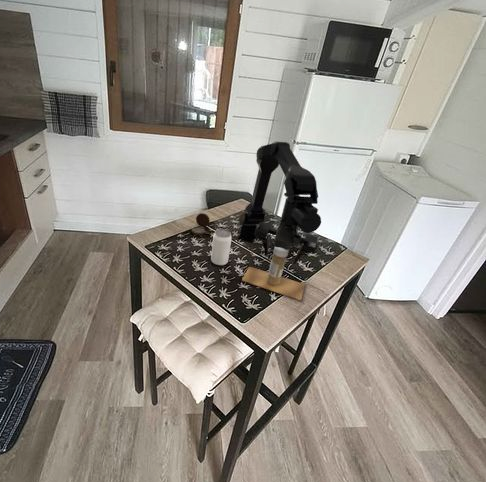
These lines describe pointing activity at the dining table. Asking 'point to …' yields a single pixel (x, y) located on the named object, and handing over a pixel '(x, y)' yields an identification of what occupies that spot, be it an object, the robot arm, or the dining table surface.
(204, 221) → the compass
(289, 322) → the dining table surface
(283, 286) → the front mat
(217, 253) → the can
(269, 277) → the sprinkles bottle
